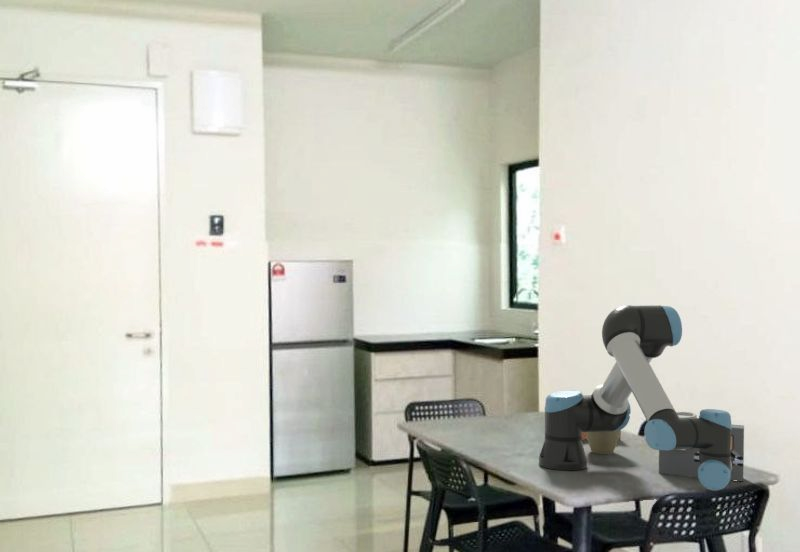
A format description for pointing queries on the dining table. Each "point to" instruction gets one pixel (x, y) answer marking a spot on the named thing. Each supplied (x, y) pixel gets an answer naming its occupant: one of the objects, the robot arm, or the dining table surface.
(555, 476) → the dining table surface
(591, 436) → the plant pot
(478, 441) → the dining table surface
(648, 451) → the dining table surface
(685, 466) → the button panel
